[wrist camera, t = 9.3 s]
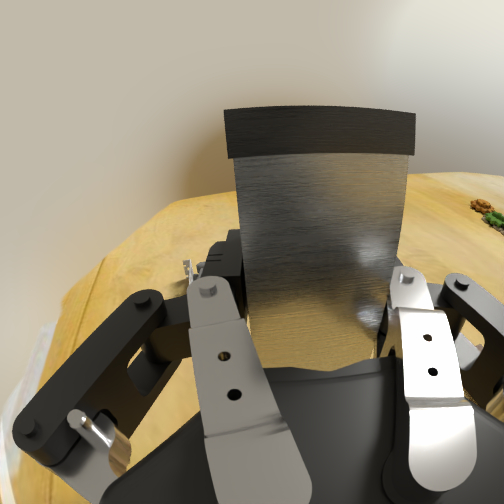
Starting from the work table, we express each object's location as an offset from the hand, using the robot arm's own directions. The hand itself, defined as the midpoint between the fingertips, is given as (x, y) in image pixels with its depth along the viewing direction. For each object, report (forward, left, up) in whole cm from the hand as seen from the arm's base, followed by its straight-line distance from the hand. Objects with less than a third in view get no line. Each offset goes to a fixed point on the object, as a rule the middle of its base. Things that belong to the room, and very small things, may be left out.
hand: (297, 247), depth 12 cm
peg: (+2, +2, -8) cm, 9 cm away
